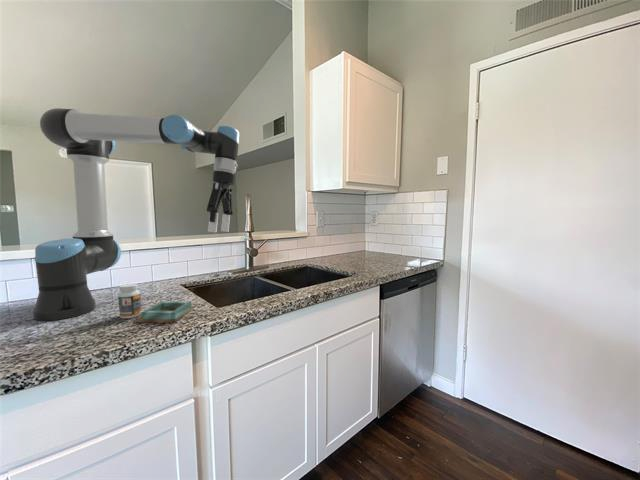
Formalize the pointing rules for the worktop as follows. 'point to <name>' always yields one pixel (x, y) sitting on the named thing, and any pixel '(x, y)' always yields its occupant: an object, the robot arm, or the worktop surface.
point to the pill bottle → (129, 301)
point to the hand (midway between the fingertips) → (218, 231)
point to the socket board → (165, 312)
